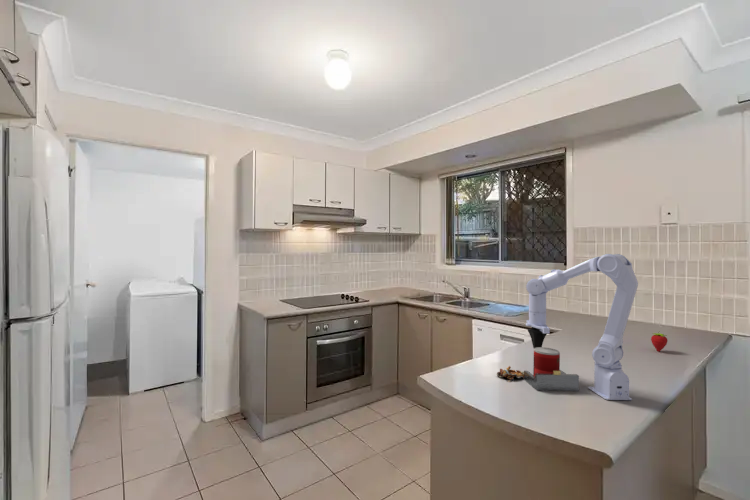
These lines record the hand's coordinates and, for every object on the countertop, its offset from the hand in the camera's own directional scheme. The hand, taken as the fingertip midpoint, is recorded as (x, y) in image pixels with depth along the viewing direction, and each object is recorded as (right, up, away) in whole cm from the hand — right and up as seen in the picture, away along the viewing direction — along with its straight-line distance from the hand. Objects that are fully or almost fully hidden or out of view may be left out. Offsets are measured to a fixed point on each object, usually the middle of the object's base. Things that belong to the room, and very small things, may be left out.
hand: (537, 349), depth 129 cm
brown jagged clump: (-10, -10, -2) cm, 14 cm away
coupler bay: (0, -9, -8) cm, 12 cm away
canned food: (-1, -9, -8) cm, 12 cm away
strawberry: (+71, -11, +34) cm, 79 cm away
